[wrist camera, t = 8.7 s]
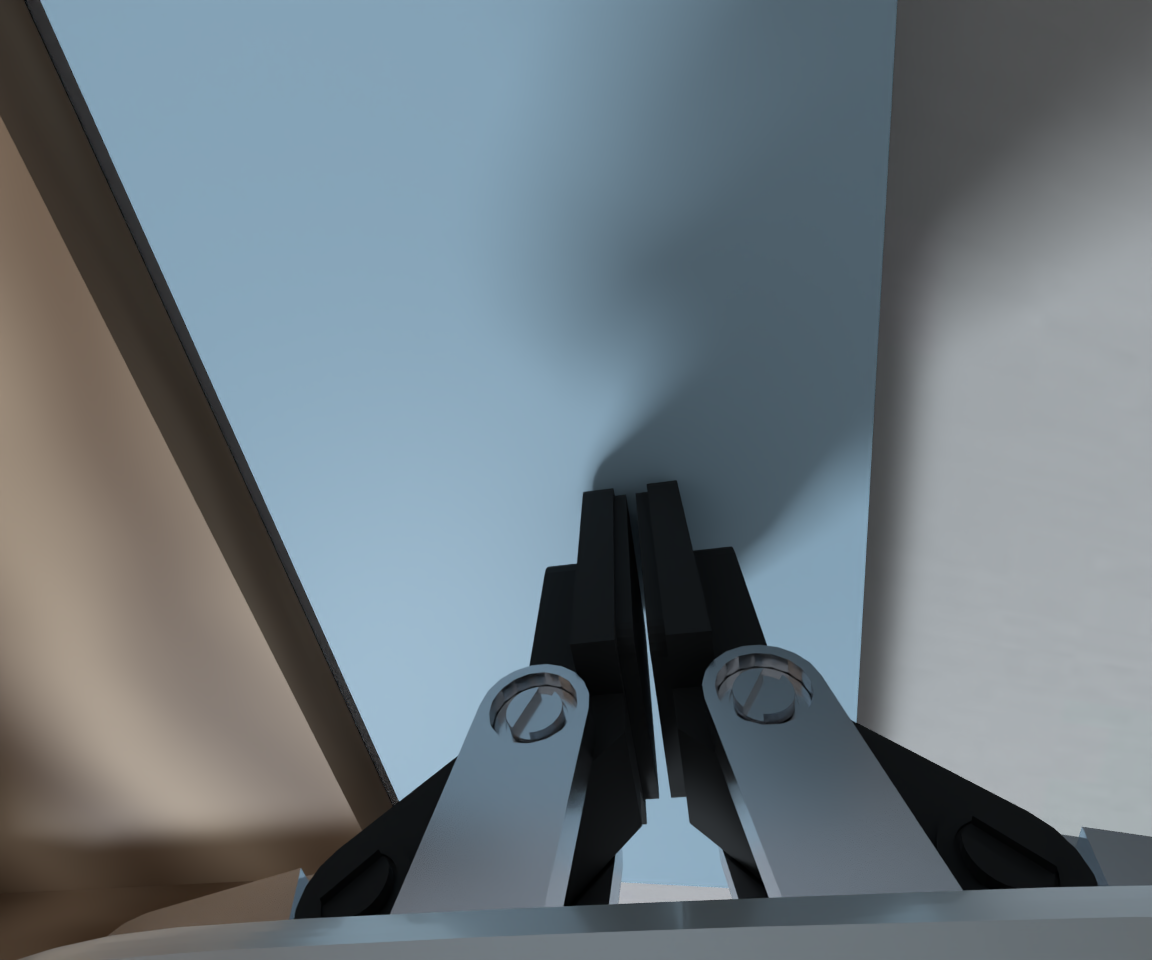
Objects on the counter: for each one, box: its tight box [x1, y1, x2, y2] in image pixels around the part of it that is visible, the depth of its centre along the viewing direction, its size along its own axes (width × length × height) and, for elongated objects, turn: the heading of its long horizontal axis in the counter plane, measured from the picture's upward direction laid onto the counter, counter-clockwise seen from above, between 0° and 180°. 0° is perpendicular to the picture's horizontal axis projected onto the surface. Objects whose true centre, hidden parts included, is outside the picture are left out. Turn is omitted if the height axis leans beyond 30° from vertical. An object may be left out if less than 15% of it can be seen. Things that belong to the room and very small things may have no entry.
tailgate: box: [40, 0, 897, 888], centre depth 12 cm, size 1×21×11 cm
